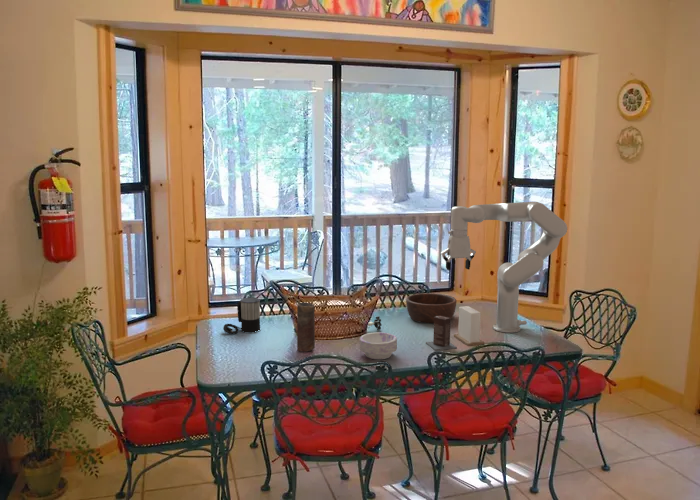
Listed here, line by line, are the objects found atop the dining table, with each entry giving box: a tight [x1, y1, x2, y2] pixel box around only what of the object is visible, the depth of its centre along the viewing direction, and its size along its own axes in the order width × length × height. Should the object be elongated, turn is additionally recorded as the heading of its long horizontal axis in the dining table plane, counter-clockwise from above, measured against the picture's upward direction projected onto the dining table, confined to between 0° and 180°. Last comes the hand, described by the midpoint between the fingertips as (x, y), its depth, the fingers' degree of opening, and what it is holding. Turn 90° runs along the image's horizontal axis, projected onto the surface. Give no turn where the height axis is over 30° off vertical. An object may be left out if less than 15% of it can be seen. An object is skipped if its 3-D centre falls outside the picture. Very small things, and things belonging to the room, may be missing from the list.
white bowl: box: [359, 331, 398, 360], centre depth 245 cm, size 15×15×8 cm
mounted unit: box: [453, 305, 485, 347], centre depth 265 cm, size 8×14×14 cm, turn 15°
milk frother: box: [222, 297, 261, 335], centre depth 278 cm, size 14×16×15 cm
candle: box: [296, 301, 316, 353], centre depth 251 cm, size 8×7×20 cm
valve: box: [368, 316, 383, 331], centre depth 280 cm, size 7×7×12 cm
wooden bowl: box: [405, 292, 457, 324], centre depth 301 cm, size 25×25×10 cm
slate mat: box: [425, 341, 457, 351], centre depth 258 cm, size 10×10×1 cm
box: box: [432, 316, 452, 347], centre depth 257 cm, size 6×4×12 cm
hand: (458, 269), depth 280 cm, fingers open, 9 cm apart
